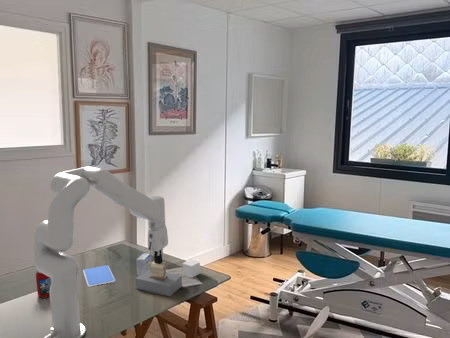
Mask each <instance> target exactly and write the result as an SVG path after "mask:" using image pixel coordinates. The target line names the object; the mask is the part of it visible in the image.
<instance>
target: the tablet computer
mask: <svg viewBox="0 0 450 338" xmlns="http://www.w3.org/2000/svg"><path fill="white" fill-rule="evenodd" d="M82 273H83V275H84V279H85V281H86V285H87V287H88V288H92V287H96V286H97V285H98V286H101V284H103V285H107V284H106V283H108V284H112V283H116V278H115V277H114V275H113V272H112V270H111V268H110V266H109V265H108V264H107V265H101V266H96V267H92V268H85V269H83V270H82Z"/></svg>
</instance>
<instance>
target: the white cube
mask: <svg viewBox="0 0 450 338" xmlns="http://www.w3.org/2000/svg"><path fill="white" fill-rule="evenodd" d="M181 266H182V275H184V276H185V275H186V277H188V278H190V277H191V279H192V278H194V277H196V276H198V275H200V273H201V267H200V266H201V262H199V261H197V260H194V259H188V260H186V261H184V262H182V265H181Z"/></svg>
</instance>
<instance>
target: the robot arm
mask: <svg viewBox="0 0 450 338" xmlns="http://www.w3.org/2000/svg"><path fill="white" fill-rule="evenodd" d="M49 185H50V186H49V187H50V189H51V191H52V193H54V194H55V196H54V197H53V199H52V200H51V202H50V204H49V206H48V210H47V211H48V212H47V213H48V214H47V219H46V220H43V221H41V222H40V223H39V224H37V226H36V228H35V231H34V235H33V254H34V256H33V258H34V265H35V268H36V270H38V271H39V272H41V273H43V274H45V275H46V276H48V277H50V278H51V280H52V282H51V286H50V296H49V300H50V301H49V302H50V312H51V313H50V314H51V321H52V322H51V323H52V327H50V332H49V333H48V335H45V336H44V337H43V338H82V337H83V336H85V334H86V326H85V325H84V324H83V323H81V317H80V316H81V314H80V303H79V291H78V276H79V263H78V261H77V260H76V258H74V257H73V256H72V255H71V254H68V253H65V252H67V251H68V250H71V248H72V246H73V245H74V242H75V241H74V239H75V226H74V224H75V223H74V221H75V219H74V218H75V217H74V216H75V210H76V207H77V206H78V205H79V203H80V202H82V200H84V198H85V197H87V195H88V194H89V191H90V190H94V191H96V192H98V193H100V194H101V195H102V196H103V197H105V198H107V199H108V200H110V201H111V202H113V203H115V204H117V205H118V206H122V207H124V208H127V209H128V211H129V214H131V215H132V216H134V217H137V218H140V219H142V220H143V219H144V220H147V224H148V225H147V226H148V230H147V249H148V251H149V254H151V255H153V261H154V262H155V263H158V264H161V263H162V262H163V252H164V248H166V247H167V246H168V245H169V235H168V234H169V233H168V229H167V225H166V207H165V204H166V203H165V198H164V197H163V196H160V195H153V196H152V195H151V196H150V197H149V196H148V195H145V194H144V193H143V192H140V191H138V190H137V189H135V188H133V187H131V186H130V185H128V184H126V183H125V182H123V181H122V180H121V179H120V178H118V177H116V175H114V174H113V173H111V172H110V171H109V170H107V169H104V168H101V167H94V166H84V167H79V168H75V169H70V170H65V171H62V172H59V173H57V174H55V175H54V176H52V178H51V179H50V184H49Z"/></svg>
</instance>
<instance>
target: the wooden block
mask: <svg viewBox="0 0 450 338" xmlns="http://www.w3.org/2000/svg"><path fill="white" fill-rule="evenodd" d="M166 273H167V264H166V261H165V262H164V261H162V263H161V264H158V263H155V262H154V260H153V261H151V278H153V279H157V280H162V281H163V280H165V279H166Z"/></svg>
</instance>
